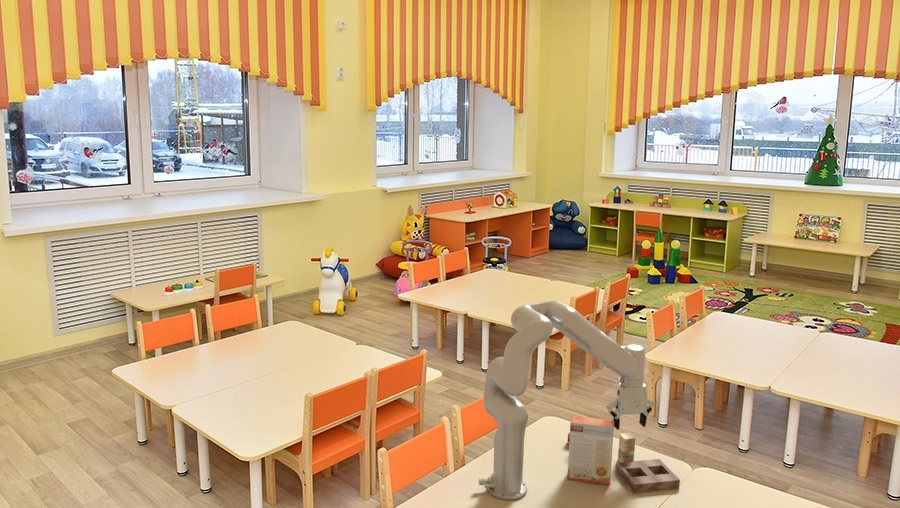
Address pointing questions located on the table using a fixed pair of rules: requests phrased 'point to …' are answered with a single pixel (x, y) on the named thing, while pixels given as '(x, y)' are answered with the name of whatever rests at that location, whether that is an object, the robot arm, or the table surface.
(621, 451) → the peg
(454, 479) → the table surface
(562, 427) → the table surface
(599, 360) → the robot arm
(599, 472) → the cracker box
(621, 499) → the table surface
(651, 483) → the peg board
